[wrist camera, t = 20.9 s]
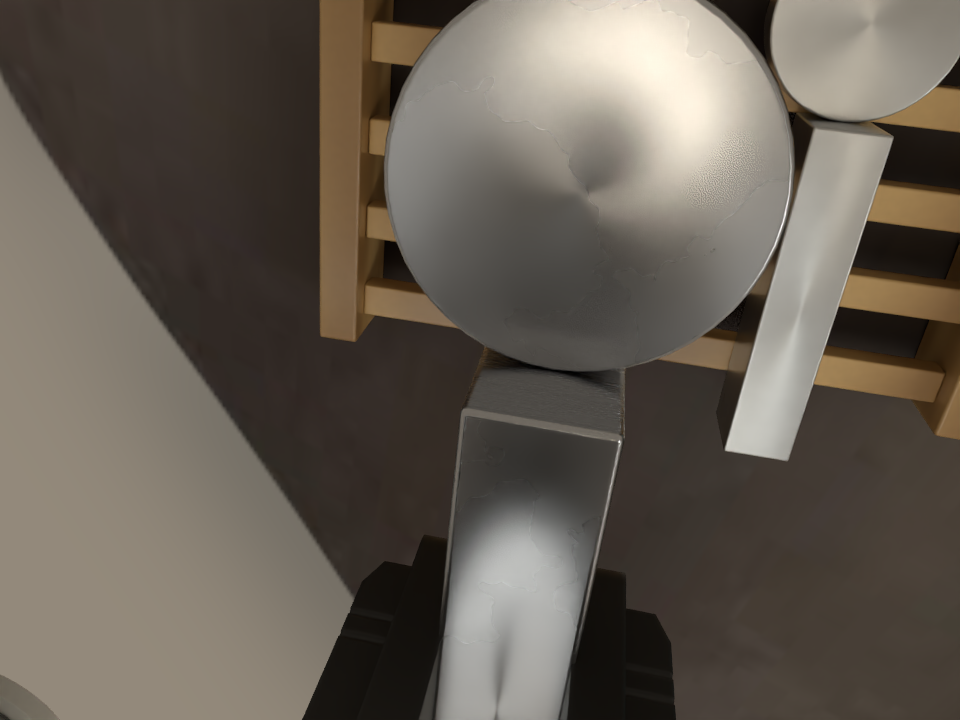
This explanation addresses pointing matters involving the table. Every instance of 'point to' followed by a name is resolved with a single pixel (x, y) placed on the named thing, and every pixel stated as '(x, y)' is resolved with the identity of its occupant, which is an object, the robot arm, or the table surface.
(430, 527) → the table surface
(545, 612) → the spoon
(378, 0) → the rack
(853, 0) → the spoon
